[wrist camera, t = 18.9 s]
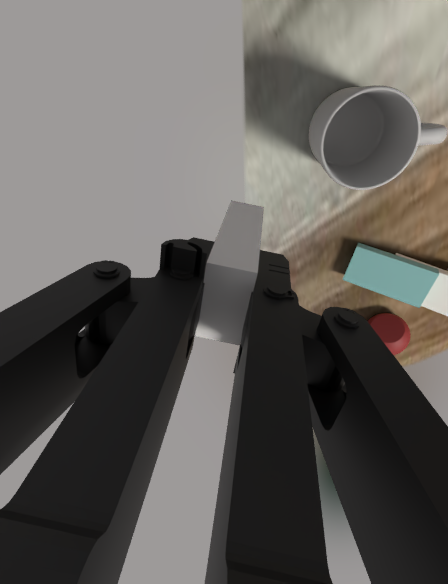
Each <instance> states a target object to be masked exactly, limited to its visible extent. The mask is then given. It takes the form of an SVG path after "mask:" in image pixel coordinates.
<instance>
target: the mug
mask: <svg viewBox="0 0 448 584" xmlns="http://www.w3.org/2000/svg"><path fill="white" fill-rule="evenodd" d="M446 135H447V128H446V127H445V126H443V125H440V124H433V123H420V117H419V113H418V111H417V108H416V106H415V105H414V103H413V102H412V100H411V99H410V98H409V97H408V96H407V95H405V94H404V93H403V92H401V91H399V90H397V89H395V88H392V87H387V86H366V87H349V88H345V89H341V90H339V91H337V92H335V93H333V94H331V95H330V96H328V97H327V98H326V99H325V100H324V101H323V102H322V103H321V104H320V105H319V106H318V108H317V109H316V111H315V113H314V115H313V117H312V119H311V122H310V126H309V144H310V148H311V150H312V153H313V154H314V156H315V158H316V159H317V160H318V161H319V163H320V164H321V166H322V167H323V169H324V170H325V171H326V173H327V174H328V175H329V177H330V178H332V179H333V180H334V181H335V182H336V183H338V184H339V185H341V186H344V187H346V188H349V189H354V190H367V189H372V188H376V187H379V186H382V185H384V184H386V183H388V182H389V181H391V180H393V179H394V178H395V177H397V176H398V175H399V174H400V173H401V172H402V171H403V170H404V169H405V168H406V167H407V165H408V164H409V163H410V161H411V160H412V158H413V156H414V154H415V152H416V150H417V147H418V145H432V144H439V143H441V142H443V141H444V139H445V138H446Z"/></svg>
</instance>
